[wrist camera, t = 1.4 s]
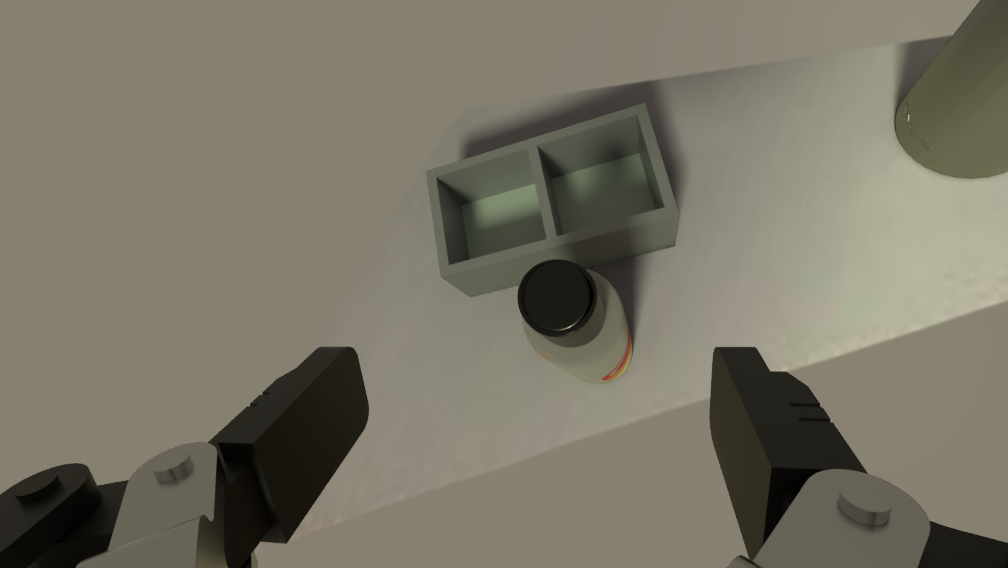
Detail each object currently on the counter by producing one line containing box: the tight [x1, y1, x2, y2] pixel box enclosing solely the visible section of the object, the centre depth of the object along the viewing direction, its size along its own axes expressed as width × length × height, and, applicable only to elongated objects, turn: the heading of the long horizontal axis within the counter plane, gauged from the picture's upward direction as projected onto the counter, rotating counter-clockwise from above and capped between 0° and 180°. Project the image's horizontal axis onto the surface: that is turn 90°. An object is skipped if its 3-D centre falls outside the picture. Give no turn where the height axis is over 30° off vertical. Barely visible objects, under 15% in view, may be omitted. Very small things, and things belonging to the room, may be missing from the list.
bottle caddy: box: [426, 103, 679, 297], centre depth 42 cm, size 18×10×7 cm, turn 100°
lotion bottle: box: [518, 259, 633, 384], centre depth 32 cm, size 6×6×20 cm
